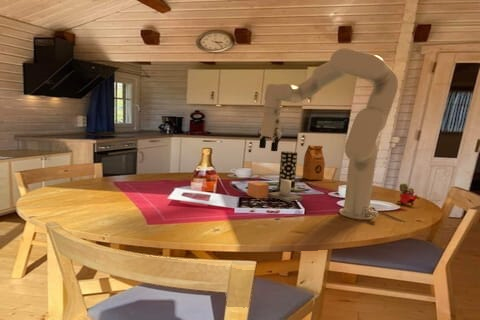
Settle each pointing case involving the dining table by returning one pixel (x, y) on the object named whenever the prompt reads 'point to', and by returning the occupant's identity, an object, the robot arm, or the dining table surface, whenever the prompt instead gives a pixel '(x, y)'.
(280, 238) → the dining table surface
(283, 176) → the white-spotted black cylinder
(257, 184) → the orange cube
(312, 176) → the coffee package
